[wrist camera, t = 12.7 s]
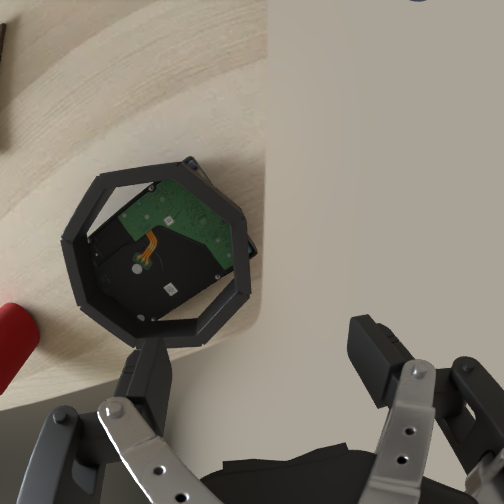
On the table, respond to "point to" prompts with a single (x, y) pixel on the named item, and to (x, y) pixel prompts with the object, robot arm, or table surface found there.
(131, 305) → the disk drive
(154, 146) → the table surface
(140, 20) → the table surface
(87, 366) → the table surface
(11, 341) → the beverage can
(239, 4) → the table surface
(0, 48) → the stand
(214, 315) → the ring
